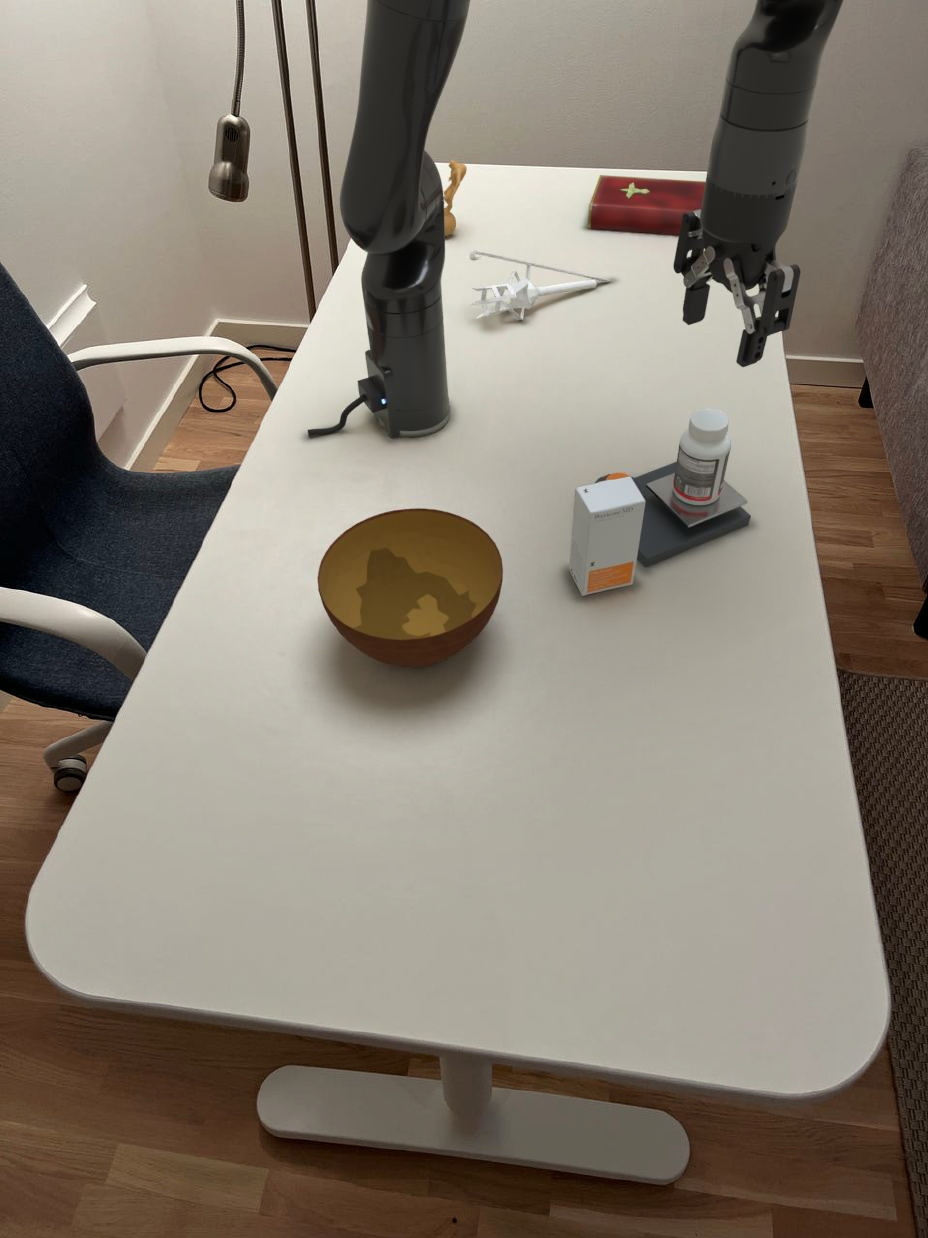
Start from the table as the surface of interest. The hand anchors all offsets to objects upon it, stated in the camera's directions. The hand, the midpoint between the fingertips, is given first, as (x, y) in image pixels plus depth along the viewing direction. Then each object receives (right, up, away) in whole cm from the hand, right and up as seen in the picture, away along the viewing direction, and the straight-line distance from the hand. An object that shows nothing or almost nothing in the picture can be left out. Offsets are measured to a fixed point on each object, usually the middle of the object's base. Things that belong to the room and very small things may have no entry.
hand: (719, 341), depth 91 cm
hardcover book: (+7, +40, +66) cm, 78 cm away
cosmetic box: (-10, -23, +10) cm, 27 cm away
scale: (-2, -15, +16) cm, 22 cm away
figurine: (-27, +37, +65) cm, 79 cm away
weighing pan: (+1, -13, +14) cm, 19 cm away
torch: (-13, +19, +48) cm, 53 cm away
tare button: (-7, -13, +15) cm, 21 cm away
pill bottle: (+1, -13, +14) cm, 19 cm away
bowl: (-30, -29, +5) cm, 42 cm away
